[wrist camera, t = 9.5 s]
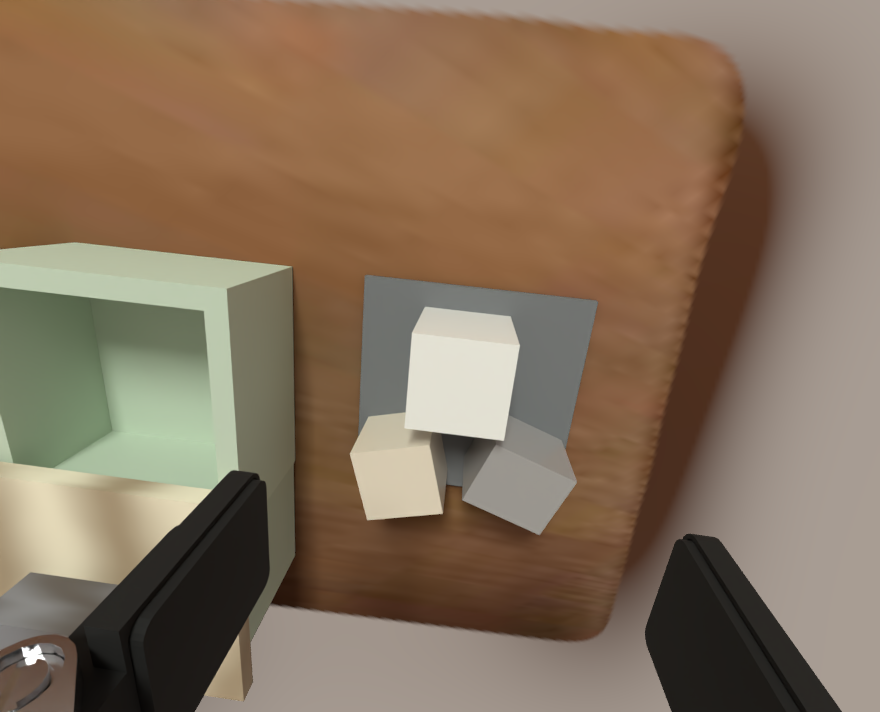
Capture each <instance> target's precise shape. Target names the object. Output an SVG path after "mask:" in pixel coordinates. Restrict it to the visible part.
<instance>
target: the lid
mask: <svg viewBox="0 0 880 712" xmlns="http://www.w3.org/2000/svg"><path fill="white" fill-rule="evenodd" d="M211 491H212V490H211V489H203V488H196V487H188V486H181V485H173V484H166V483H158V482H151V481H143V480H136V479H128V478H121V477H113V476H106V475H98V474H91V473H83V472H76V471H68V470H61V469H53V468H46V467H38V466H30V465H23V464H15V463H8V462H0V650H2V649H4V648H6V647H8V646H10V645H13V644H15V643H17V642H19V641H22V640H24V639H28V638H32V637H36V636H39V635H52V634H57V635H61V636H64V637H69V636H70V635H71V634H72V633H73V632H74V631H75V629H76V628H77V627H78V626H79V625H80V624H81V623H82V622H83V621H84V620H85V619H86V618H87V617H88V616H89V615H90V614H91V613H92V612H93V611H94V610H95V609H96V608H97V607H98V605H99V604H100V603H101V602H102V601H103V600H104V599H105V598H106V597H107V596H108V595H109V594H110V593H111V592H112V591H113V590H114V589H115V588H116V587H117V586H118V585H119V584H120V582H121V581H122V580H123V579H124V578H125V577H126V576H127V575H128V574H129V573H130V572H131V571H132V570H133V569H134V568H135V567H136V566H137V565H138V564H139V563H140V562H141V561H142V560H143V558H144V557H145V556H146V555H147V554H148V553H149V552H150V551H151V550H152V549H153V548H154V547H155V546H156V545H157V544H158V543H159V542H160V541H161V540H162V539H163V538H164V537H165V535H166V534H167V533H168V532H169V531H171V530H172V529H173V528H174V527H175V526H178V525H180V524H181V522H182V521H183V520H184V519H185V518H186V517H187V516H188V515H189V514H190V513H191V512H192V511H193V510H194V509H195V508H196V507H197V506H198V504H199V503H200V502H201V501H202V500H203V499H204V498H205V497H206V496H207V495H208V494H209V493H210V492H211ZM252 683H253V676H252V662H251V647H250V630H249V617H248V619H247V620H246V622H245V624H244V626H243V627H242V629H241V631H240V633H239V634H238V636H237V638H236V640H235V641H234V643H233V645H232V647H231V649H230V650H229V652H228V654H227V656H226V657H225V659H224V661H223V663H222V664H221V666H220V668H219V670H218V671H217V673H216V675H215V677H214V679H213V680H212V682H211V684H210V686H209V687H208V689H207V691H206V693H205V694H204V695H205V696H212V697H218V698H225V699H231V700H238V701H244V700H245V697H246V696H247V693H248V691H249V689H250V687H251V685H252Z"/></svg>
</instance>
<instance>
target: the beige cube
mask: <svg viewBox="0 0 880 712" xmlns="http://www.w3.org/2000/svg"><path fill="white" fill-rule="evenodd" d="M405 414H406V412H404V413H395V414H387V415H378V416H370V417H368V419H367V421H366V423H365V425H364V427H363V429H362V431H361V433H360V435H359V437H358V439H357V441H356V443H355V445H354V447H353V449H352V451H351V453H350V456H351V460H352V463H353V467H354V471H355V475H356V479H357V483H358V486H359V490H360V494H361V498H362V502H363V506H364V509H365V513H366V517H367V520H376V519H387V518H399V517H410V516H422V515H434V514H443V508H444V498H445V489H446V479H447V470H448V469H447V463H446V458H445V452H444V447H443V441H442V436H441V433H437V432H429V431H421V430H414V429H406V428H404V427H405Z"/></svg>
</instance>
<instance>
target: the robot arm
mask: <svg viewBox="0 0 880 712" xmlns="http://www.w3.org/2000/svg"><path fill="white" fill-rule="evenodd" d="M269 573H270V560H269V536H268V512H267V487H266V483H265V481H262V480H260V477H259V475H258V474H257V473H252V472H245V471H237V470H232V471H230V472H229V473H228V474H227V475H226V476H225V477H224V478H223V479H222V480H221V481H220V482H219V483H218V484H217V485H216V487H215V488H214V489H213V490H212V491H211V492H210V493H209V494H208V495H207V496H206V497H205V498H204V499H203V500H202V501H201V502H200V503H199V504H198V506H197V507H196V508H195V509H194V510H193V511H192V512H191V513H190V514H189V515H188V516H187V517H186V518H185V519H184V520H183V521H182V522H181V524H180V525H178V526H175V527H174V528H173V529H172V530H171V531H169V532H168V533H167V534H166V535H165V537H164V538H163V539H162V540H161V541H160V542H159V543H158V544H157V545H156V546H155V547H154V548H153V549H152V550H151V551H150V552H149V553H148V554H147V555H146V556H145V557H144V558H143V560H142V561H141V562H140V563H139V564H138V565H137V566H136V567H135V568H134V569H133V570H132V571H131V572H130V573H129V574H128V575H127V576H126V577H125V578H124V579H123V580H122V581H121V582H120V584H119V585H118V586H117V587H116V588H115V589H114V590H113V591H112V592H111V593H110V594H109V595H108V596H107V597H106V598H105V599H104V600H103V601H102V602H101V603H100V604H99V605H98V607H97V608H96V609H95V610H94V611H93V612H92V613H91V614H90V615H89V616H88V617H87V618H86V619H85V620H84V621H83V622H82V623H81V624H80V625H79V626H78V627H77V628H76V629H75V631H74V632H73V633H72V634H71V635H70V636H69V637H64V636H61V635H57V634H52V635H39V636H36V637H32V638H28V639H24V640H22V641H19V642H17V643H15V644H13V645H10V646H8V647H6V648H4V649H2V650H0V712H195V710H196V708H197V707H198V705H199V703H200V701H201V699H202V698H203V696H204V694H205V693H206V691H207V689H208V687H209V686H210V684H211V682H212V680H213V679H214V677H215V675H216V673H217V671H218V670H219V668H220V666H221V664H222V663H223V661H224V659H225V657H226V656H227V654H228V652H229V650H230V649H231V647H232V645H233V643H234V641H235V640H236V638H237V636H238V634H239V633H240V631H241V629H242V627H243V626H244V624H245V622H246V620H247V619H248V617H249V615H250V613H251V611H252V610H253V608H254V606H255V604H256V603H257V601H258V599H259V597H260V596H261V594H262V592H263V590H264V588H265V586H266V584H267V582H268V578H269ZM645 639H646V644H647V647H648V650H649V653H650V655H651V658H652V660H653V663H654V666H655V669H656V671H657V674H658V677H659V679H660V682H661V684H662V687H663V690H664V693H665V695H666V698H667V700H668V703H669V706H670V708H671V711H672V712H842V711H841V710H840V708H839V707H838V706H837V704H836V703H835V701H834V700H833V699H832V697H831V696H830V695H829V693H828V692H827V690H826V689H825V687H824V686H823V685H822V683H821V682H820V680H819V679H818V678H817V676H816V675H815V673H814V672H813V671H812V669H811V668H810V666H809V665H808V663H807V662H806V661H805V659H804V658H803V657H802V655H801V654H800V652H799V651H798V649H797V648H796V647H795V645H794V644H793V642H792V641H791V640H790V638H789V637H788V635H787V634H786V633H785V631H784V630H783V628H782V627H781V626H780V624H779V623H778V621H777V620H776V619H775V617H774V616H773V614H772V613H771V612H770V610H769V609H768V607H767V606H766V604H765V603H764V602H763V600H762V599H761V598H760V596H759V595H758V593H757V592H756V590H755V589H754V588H753V586H752V585H751V584H750V582H749V581H748V579H747V578H746V576H745V575H744V574H743V572H742V571H741V569H740V568H739V567H738V565H737V564H736V562H735V561H734V560H733V558H732V557H731V555H730V554H729V552H728V551H727V550H726V549H725V547H724V546H723V544H722V543H721V542H720V541H719V539H717V538H715V537H709V536H702V535H695V534H686V535H685V536H684V537H683V539H682V540H681V539H679V540H677V541H676V542H675V544H674V547H673V550H672V553H671V556H670V559H669V562H668V565H667V567H666V570H665V573H664V576H663V579H662V582H661V585H660V587H659V590H658V594H657V596H656V599H655V602H654V605H653V608H652V611H651V614H650V617H649V619H648V622H647V625H646V630H645Z"/></svg>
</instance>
